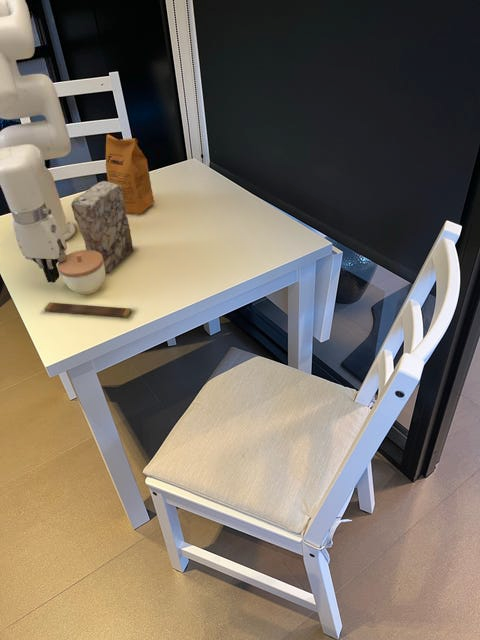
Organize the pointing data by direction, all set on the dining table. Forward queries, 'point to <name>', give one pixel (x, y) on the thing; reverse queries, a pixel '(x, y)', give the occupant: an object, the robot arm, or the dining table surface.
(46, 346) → the dining table surface
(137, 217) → the dining table surface
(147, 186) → the coffee package
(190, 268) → the dining table surface
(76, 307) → the walnut straight-edge
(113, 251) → the stone block
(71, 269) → the trinket box
